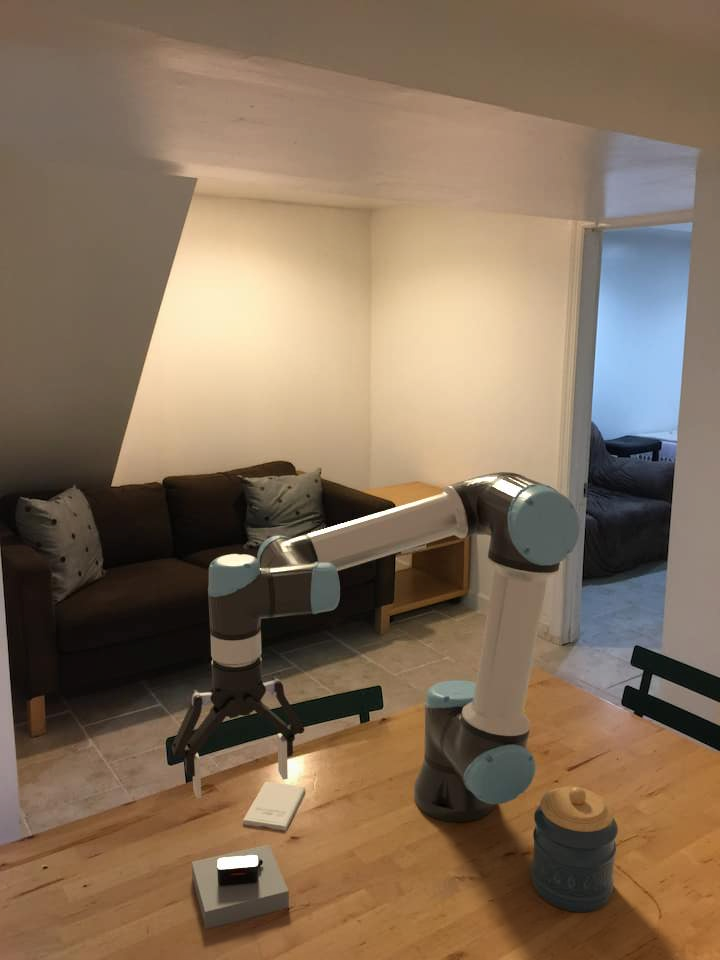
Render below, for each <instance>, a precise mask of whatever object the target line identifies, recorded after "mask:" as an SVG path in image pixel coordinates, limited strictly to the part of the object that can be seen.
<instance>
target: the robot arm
mask: <svg viewBox="0 0 720 960" xmlns="http://www.w3.org/2000/svg"><path fill="white" fill-rule="evenodd" d="M579 517H580V516H579V514H578V511H577V509H576V507H575V506H574V504H573V502H572V501H571V500H570V499H569V498H568V497H567V496H566V495H564V494H563V493H561V492H560V491H558V490H557V489H556V488H554V487H552V486H550V485H546V484H545V483H544V484H543V483H541V482H538V481H536V480H533V479H530V478H528V477H526V476H524V475H521V474H519V473H516V472H510V471H509V472H508V471H507V472H506V471H501V472H493V473H489V474H484V475H478V476H475V477H472V478H469V479H464V480H461V481H459V482H455V483H452V484H449V485H446V486H444V488H443V489H442V490H441V492H440V493H438V494H435V495H432V496H428V497H426V498H423V499H419V500H415V501H413V502H408V503H406V504H403V505H398V506H396V507H392V508H390V509H389V508H388V509H386V510H383V511H379V512H376V513H373V514H369V515H366V516H363V517H359V518H357V519H353V520H350V521H349V520H348V521H347V522H344V523H340V524H339V523H338V524H337V525H333V526H330V527H327V528H324V529H323V528H322V529H320V530H317V531H313V532H311V533H305V534H302V535H299V536H295V537H289V536H288V537H287V535H286V536H285V535H273V536H270V537H269V538H267V539H265V540H264V541H263V542H262V543H261V544H260V546H259V548H258V550H257V556H256V557H255V556H253V555H250V554H244V553H243V554H239V553H230V554H225V555H220V556H219V557H216V558H214V559H213V560H212V561H211V563H210V564H209V567H208V588H207V591H208V592H207V594H208V595H207V596H208V611H209V612H208V613H209V630H210V631H209V632H210V655H211V658H212V659H211V681H212V682H211V683H212V686H211V690H210V691H209V692H200V691H199V690H197V689H194V690H192V692H191V694H190V705H189V707H188V710H187V712H186V714H185V715H184V718H183V720H182V722H181V724H180V727H179V729H178V731H177V733H176V735H175V738H174V740H173V741H172V745H171V750H172V753H173V755H174V758H176V759H178V758H181V757H182V758H184V768H185V769H184V770H185V773H186V776H187V778H192V788H193V792H194V795H195V798H196V799H200V798H202V783H201V780H202V779H201V762H200V761H201V759H200V756H199V751H200V750H201V748H202V747H203V746H204V744H205V743H206V742H207V740H208V739H209V738H210V736H211V735H212V734H213V733H214V732H215V730H216V729H217V727H218V726H219V725H221V724H222V723H224V721H225V719H226V717H227V718H229V719H233V718H237V717H239V716H249V715H251V713H252V712H255V713H257V714H258V715H259V716H260V717H262V718H263V719H264V720H265V721H267V722H268V723H269V725H270V726H272V727H274V729H275V730H276V731H278V732H279V733H277V769H278V771H277V772H278V774H279V775H280V777H281V779H282V780H287V779H288V778H289V777H288V757H292V756H293V754H294V741H295V739H296V735H298V734H303V733H304V732H305V727H304V726H303V724H302V722H301V721H300V719H299V717H298V716H297V714H296V712H295V711H294V709H293V707H292V705H291V704H290V702H289V700H288V698H287V696H286V695H285V691H284V685H283V683H282V681H281V680H280V679H279V677H278V676H273V677H272V678H271V680H270V681H266V682H263V659H262V656H261V655H262V652H263V651H262V632H261V631H262V630H261V629H262V628H261V627H262V626H261V625H262V622H261V621H262V619H270V618H272V619H273V618H278V617H279V618H280V617H288V616H289V617H291V616H301V615H302V616H303V615H311V614H313V615H317V614H319V613H324V612H330V611H334V610H335V609H336V608H337V607H338V606H339V602H340V598H341V597H340V596H341V585H340V578H339V574H338V571H342V570H345V569H348V568H351V567H355V566H358V565H361V564H364V563H367V562H370V561H374V560H377V559H380V558H384V557H387V556H390V555H394V554H397V553H399V552H400V553H401V552H403V551H407V550H410V549H412V548H416V547H419V546H423V545H426V544H429V543H433V542H436V541H439V540H442V539H445V538H449V537H452V536H456V537H457V538H459V539H465V538H468V537H473V536H479V535H480V536H481V535H482V536H483V535H485V536H489V537H490V539H489V540H490V541H489V547H488V551H487V560H488V561H489V563H490V564H491V566H492V568H493V569H494V573H493V580H492V584H491V590H490V591H491V592H490V597H489V603H488V607H487V613H486V614H487V616H486V621H485V625H484V626H485V627H484V634H483V639H482V644H481V651H480V657H479V663H478V668H477V669H478V670H477V675H476V680H475V682H474V681H469V680H445V681H441V682H438V683H435V684H433V685H432V686H430V687H429V688H428V690H427V691H426V697H425V703H424V707H425V710H424V713H425V714H424V754H423V756H424V757H423V758H424V759H423V761H422V763H421V765H420V766H421V767H420V769H419V771H418V774H417V777H416V779H415V782H414V786H413V789H414V790H413V798H414V803H415V804H416V806H417V807H418V808H419V809H420V810H421V811H422V812H424V814H426V815H428V816H430V817H432V818H433V819H437V820H440V821H444V822H448V823H450V822H451V823H467V822H473V821H477V820H479V819H481V818H483V817H485V816H486V815H488V814H489V813H490V812H491V810H492V809H493V808H494V805H502V804H506V803H509V802H511V801H514V800H515V799H517V798H518V797H519V795H522V794H524V792H526V790H527V789H529V787H530V786H531V784H532V782H533V781H534V779H535V778H534V777H535V776H536V770H537V768H536V760H535V758H534V756H533V753H532V752H531V751H530V749H528V747H527V746H528V741H529V736H530V729H531V722H530V720H529V718H528V716H527V715H526V714H525V713H524V711H525V705H526V701H527V700H526V698H527V694H528V689H529V688H528V687H529V683H530V676H531V672H532V666H533V660H534V655H535V649H536V643H537V637H538V631H539V628H540V622H541V616H542V610H543V604H544V598H545V593H546V589H547V588H546V587H547V583H548V580H549V578H551V577H553V576H554V575H556V574H558V572H559V570H560V563H561V562H562V561H564V560H565V559H567V557H568V555H569V554H570V553H573V552H574V550H575V548H576V546H577V544H578V542H579V537H580V534H581V533H580V532H581V531H580V529H581V524H580V523H581V522H580V518H579ZM266 692H269V694H270V695H271V696H274V697H276V700H277V701H278V703H279V705H280V706H281V708H282V709H283V711H284V712H285V714H286V716H287V717H288V719H289V721H290V722H291V723H290V724H287V723H286V722H285V721H283V720H282V719H281V718H280V717H279V716H278V715H277V714H276V713H275V712H273V711H272V710H271V709H270V708H269V707H268V706H267V705H266V704H265V703H264V702H263V701H262V698H263V697H264V695H265V694H266ZM209 702H211V703H212V704H213V705H212V707H211V708H210V710H209V713H208V714H207V716H206V717H205V718H204V719H203V721H202V722H201V724H200V725H199V726H198V728H197V729H196V730H195V731H194V729H195V727H196V725H197V723H198V720H199V718H200V717H201V713H202V710H203V709H205V708H206V706H207V703H209ZM193 731H194V733H193Z"/></svg>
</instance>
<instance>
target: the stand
mask: <svg viewBox="0 0 720 960" xmlns="http://www.w3.org/2000/svg"><path fill="white" fill-rule="evenodd" d="M249 855H257V856H258V859H261V860H262V861H263V864H262V865H261V866H260V868H259V869H258V881H257V882H256V883H248V884H237V885H226V886H220V885H219V884H218V873H217V862H218V859H219V858H226V857H237V856H249ZM191 878H192V882H193V883H192V884H193V886H194V890H195V893H196V898H197V901H198V905H199V908H200V913H201V916H202V920H203V923H204V929H205V930H207V929H208V930H209V929H211V928H215V927H219V926H223V925H226V924H231V923H234V922H239V921H242V920H246V919H250V918H253V917H254V918H255V917H258V916H263V915H266V914H270V913H273V912H277V911H280V910H285V909H289V908H290V896H289V895H290V891H289V888H288V886H287V883H286V882H285V878H284V876H283V874H282V871H281V870H280V867H279V864H278V862H277V859H276V857H275V855H274V853H273V850H272V848H271V846H270V843H269V844H264V845H261V846H256V847H251V848H247V849H242V850H239V851H233V852H228V853H225V854H220V855H215V856H211V857H207V858H202V859H199V860H194V861H193V860H192V861H191Z"/></svg>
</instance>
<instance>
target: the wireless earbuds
mask: <svg viewBox="0 0 720 960" xmlns="http://www.w3.org/2000/svg"><path fill="white" fill-rule="evenodd" d="M262 864H263V861H262V860H261V859H258V856H257V855H249V856H237V857H226V858H219V859H218V862H217V873H218V884H219V885H220V886H226V885H237V884H248V883H256V882H257V881H258V869H259V868H260V866H261V865H262Z"/></svg>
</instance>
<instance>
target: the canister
mask: <svg viewBox="0 0 720 960" xmlns="http://www.w3.org/2000/svg"><path fill="white" fill-rule="evenodd" d="M533 820H534V823H535V827H534V829H533V832H532V833H533V834H532V836H533V846H532V847H533V849H532V850H533V851H532V861H531V863H530V864H531V865H530V874H531V875H530V876H531V880H532V886H533V888H534V889H535V891H536V892H537V894H538V895H539V897H541V898H542V899H543V900H545V901H546V902H547V903H549V904H551V905H552V906H555V907H557V908H558V909H562V910H565V911H569V912H577V913H585V912H587V913H588V912H592V911H596V910H598V909H601V908H603V907H604V906H605V905H606V904H608V902H609V900H610V898H611V895H612V893H613V888H614V883H615V882H614V866H615V865H614V864H615V855H616V851H617V844H616V841H615V839H616V838H617V836H618V833H619V832H618V831H619V826H618V823H617V821H616V819H615V817H614V810H613V808H612V806H611V804H609V803H608V801H607V800H605V798H603V797H601V796H600V795H598V794H596V792H593V791H591V790H589V789H586V788H583V787H580V786H563V787H558V788H554V789H551V790H550V791H548V792H546V793H545V794H543V796H542V797H541V799H540V804H539V805H538V806H537V807H536V809H535V810H534V816H533Z"/></svg>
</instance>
